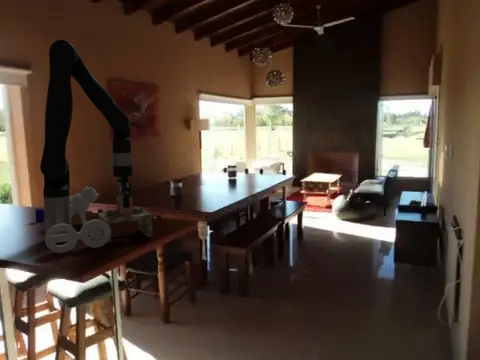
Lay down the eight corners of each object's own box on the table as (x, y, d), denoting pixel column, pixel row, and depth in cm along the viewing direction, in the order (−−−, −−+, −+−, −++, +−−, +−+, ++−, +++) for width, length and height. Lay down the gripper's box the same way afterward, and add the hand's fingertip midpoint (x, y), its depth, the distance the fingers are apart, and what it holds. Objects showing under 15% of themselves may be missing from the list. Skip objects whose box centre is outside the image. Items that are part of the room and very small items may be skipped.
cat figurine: (47, 232, 172) (44, 192, 169) (41, 227, 180) (38, 189, 178) (105, 223, 187) (103, 187, 185) (97, 219, 195) (95, 184, 193)
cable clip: (48, 216, 202) (47, 204, 201) (56, 216, 202) (55, 205, 201) (33, 222, 190) (32, 209, 190) (42, 222, 190) (41, 209, 189)
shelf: (106, 242, 154) (104, 214, 153) (99, 234, 167) (98, 208, 165) (152, 236, 163) (151, 209, 162) (143, 229, 175) (142, 204, 174)
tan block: (120, 214, 160) (119, 197, 159) (117, 211, 165) (116, 195, 164) (133, 212, 162) (132, 196, 162) (129, 210, 167) (128, 194, 166)
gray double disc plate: (109, 243, 154) (108, 217, 153) (111, 245, 152) (110, 218, 151) (45, 253, 142) (44, 225, 141) (46, 255, 140) (44, 226, 139)
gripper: (109, 163, 166) (111, 204, 168) (116, 166, 153) (119, 210, 155) (127, 162, 169) (129, 202, 171) (136, 165, 157) (138, 208, 159)
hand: (124, 206), depth 163 cm, fingers closed on tan block, 5 cm apart
